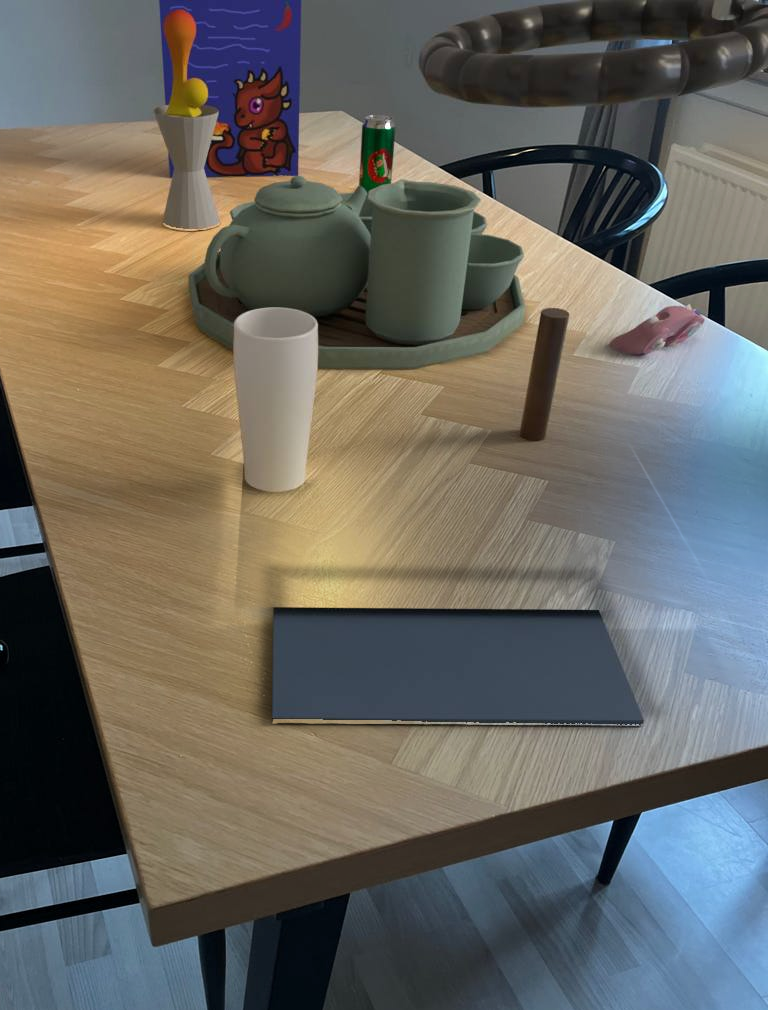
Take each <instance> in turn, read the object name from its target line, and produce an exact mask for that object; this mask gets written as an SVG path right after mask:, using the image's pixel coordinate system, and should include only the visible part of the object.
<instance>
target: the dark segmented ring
mask: <svg viewBox="0 0 768 1010" xmlns="http://www.w3.org/2000/svg"><path fill="white" fill-rule="evenodd" d="M713 4H714V0H571V1H562V2H556V3H555V2H554V3H547V4H539V5H533V6H527V7H522V8H517V9H512V10H507V11H501V12H496V13H491V14H485V15H483V16H480V17H477V18H473V19H470V20H466V21H463V22H461V23H457V24H453V25H450V26H448V27H446V28H445V29H443V30H441V31H440V32H439V33H438V34H436V35H434V36H433V37H431V38H430V39H429V40H428V41H426V42H425V43H424V45H423V46H422V47H421V49H420V52H419V55H418V67H419V70H420V73H421V75H422V77H423V79H424V81H425V83H426V84H427V86H428V87H429V88H430V90H432V91H433V92H434V93H436V94H438V95H442V96H445V97H446V96H447V97H448V98H452V99H456V100H460V101H463V102H465V103H470V104H474V105H475V104H476V105H489V106H502V107H512V108H513V107H516V108H524V109H525V108H526V109H534V108H535V109H536V108H537V109H539V108H540V109H541V108H570V107H572V108H573V107H602V106H603V107H604V106H611V105H620V104H627V103H637V102H644V101H645V102H646V101H647V102H648V101H652V100H653V101H655V100H664V99H672V98H676V97H681V96H685V95H689V94H690V95H691V94H694V93H699V92H703V91H707V90H708V91H709V90H712V89H715V88H721V87H726V86H729V85H733V84H736V83H738V82H741V81H743V80H745V79H746V78H749V77H751V76H753V75H756V74H757V73H759V72H762V71H763V70H766V69H768V4H767V3H764V2H761V1H758V0H746V2H745V3H744V4H743V8H744V11H743V15H742V17H741V19H739V20H717V19H714V18H712V9H713ZM639 40H651V41H652V40H653V41H680V42H675V43H669V44H660V45H652V46H644V47H635V48H634V47H633V48H627V49H619V50H609V51H599V52H578V53H577V52H576V53H555V54H518V53H522V52H526V51H531V50H535V49H536V50H537V49H545V48H553V47H563V46H571V45H578V44H585V43H599V42H600V43H601V42H602V43H603V42H622V41H623V42H624V41H639ZM516 53H517V54H516Z"/></svg>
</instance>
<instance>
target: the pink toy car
mask: <svg viewBox="0 0 768 1010" xmlns="http://www.w3.org/2000/svg"><path fill="white" fill-rule="evenodd" d="M705 321H706V320H705V318H704V316H702V314H701V313H700V312H699V311H698V310H697V309H696V308H692V306H691V304H690V303H689V304H687V305H685V306H682V305H670V306H666V307H663V308H662V309H661V310H659V311H658V312H657V313H656V314H655V315H653V316H651V317H649V318H647V319H645V320H644V321H642V322H640V323H639V324H638V325H637V326H636V327H635V328H632V329H630V330H629V331H627V332H625V333H623V334H620V335H618V336H615V337H614V338H613V339H612V340H611V341H610V342H609V343H608V346H609V347H611V348H612V349H614V350H615V351H618V352H621V353H623V354H626V355H631V356H639V355H642V354H644V355H648V354H651V353H652V352H655V351H656V352H657V351H660V350H662V349H663V348H664V347H666V348H669V347H671V346H674V345H675V344H680V343H682V342H684V341H685V340H687V339H688V338H690V337H692V336H693V335H694V334H695V333H696V332H697V331H698V330H699V329H700V328H701V327H702V326H703V324H704V323H705Z"/></svg>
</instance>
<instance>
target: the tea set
mask: <svg viewBox="0 0 768 1010" xmlns="http://www.w3.org/2000/svg"><path fill="white" fill-rule="evenodd" d="M253 200H254V201H250V202H245V203H241V204H238V205H236V206H235V207H234V208H233V209H231V210H230V211H229V214H230V217H231V222H230V223H229V225H227V226H224V227H221V229H220V230H218V232H217V233H216V234H215V235H214V236H213V237H212V239H211V241H210V243H209V245H208V246H207V249H206V253H205V258H204V263H202V264H201V265H199V266H198V267H197V268H196V269H195V270H193V271H192V272H190V273H189V274H188V279H187V280H188V292H189V299H190V304H191V310H192V314H193V320H194V323H195V325H196V327H197V328H198V331H200V332H201V333H203V334H205V335H206V336H208V337H209V338H211V339H212V340H215V341H216V342H218V343H219V344H221V345H222V346H224V347H226V348H227V349H229V350H230V351H232V352H233V337H234V321H235V320H236V318H237V317H238V316H240V315H241V314H243V313H245V312H248V311H251V310H255V309H260V308H269V307H281V308H290V309H296V310H300V311H303V312H306V313H308V314H310V315H311V316H313V317H314V318H315V319H316V320H317V323H318V369H320V370H413V371H414V370H418V369H422V368H427V367H430V366H435V365H439V364H443V363H448V362H453V361H457V360H461V359H465V358H470V357H473V356H477V355H482V354H486V353H488V352H489V351H490V350H492V349H493V348H494V347H495V346H497V345H498V344H499V343H501V342H502V341H503V340H505V339H506V338H507V337H508V336H510V335H511V334H512V333H513V332H515V331H516V330H517V329H518V328H519V327H521V326H522V325H523V323H524V318H525V313H526V304H525V301H524V296H523V291H522V287H521V283H520V278H519V276H518V275H516V272H517V269H518V267H519V265H520V264H521V262H522V261H523V259H524V258H525V253H524V250H523V247H522V246H521V245H519V244H517V243H516V242H513V241H511V240H510V239H506V238H503V237H499V236H496V235H490V234H483V233H484V232H485V230H486V229H487V227H488V222H487V221H488V220H487V217H485V216H484V215H481V214H480V213H478V212H476V211H475V210H476V209H477V207H479V205H480V204H481V202H482V199H481V198H480V197H479V196H478V195H477V194H476V193H475V192H474V191H472V190H469V189H466V188H463V187H460V186H458V185H453V184H446V183H439V182H432V181H415V180H409V179H402V178H400V179H399V180H397V181H394V182H393V183H392V182H391V184H385V185H381V186H379V187H377V188H374V189H372V190H370V191H369V192H368V193H367V192H366V190H365V189H364V188H363V187H361V186H359V185H357V187H356V189H355V190H354V191H353V192H341V193H339V192H338V190H337V189H336V188H334V187H333V186H330V185H327V184H325V183H323V182H316V181H309V180H307V179H306V178H305V177H304V176H302V175H298V176H292V178H291V179H290V180H285V181H277V182H272V183H270V184H268V185H265V186H262V187H261V188H260V189H259V190H258V191H257V192H256V195H255V196H254V198H253Z"/></svg>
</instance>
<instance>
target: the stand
mask: <svg viewBox="0 0 768 1010" xmlns="http://www.w3.org/2000/svg"><path fill="white" fill-rule="evenodd" d="M569 318H570V313H569V312H568V311H567V310H565V309H563V308H558V307H546V308H543V309H542V310H541V311H540V316H539V321H538V326H537V332H536V339H535V344H534V349H533V355H532V359H531V360H532V361H531V366H530V372H529V376H528V377H529V378H528V383H527V388H526V394H525V399H524V405H523V410H522V416H521V422H520V427H519V433H518V434H519V435H518V436H519V437H520V438H521V439H522V440H525V441H528V442H533V443H534V442H541V441H543V440H545V439H546V435H547V431H548V425H549V420H550V414H551V410H552V405H553V400H554V396H555V389H556V384H557V381H558V380H557V379H558V376H559V375H558V374H559V370H560V365H561V360H562V354H563V349H564V343H565V340H566V339H565V338H566V334H567V329H568V324H569V320H570V319H569Z"/></svg>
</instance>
